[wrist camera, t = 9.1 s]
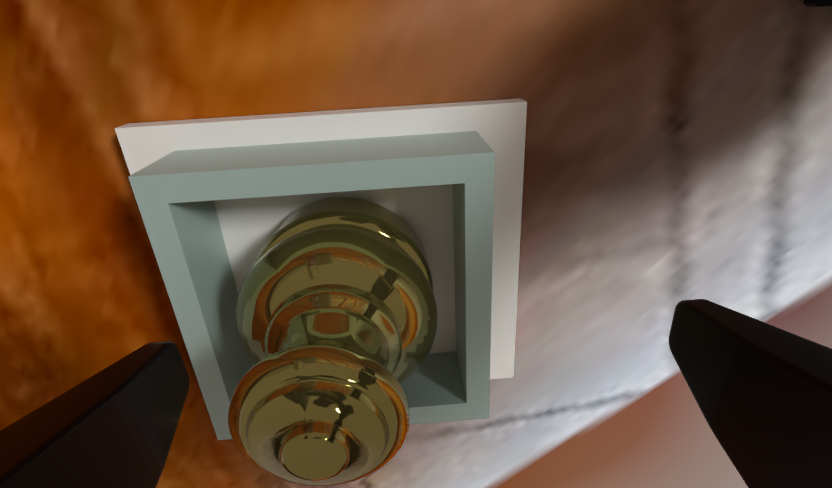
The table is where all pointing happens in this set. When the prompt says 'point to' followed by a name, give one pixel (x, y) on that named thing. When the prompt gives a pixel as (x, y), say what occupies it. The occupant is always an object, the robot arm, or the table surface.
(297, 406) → the gold rounded piece
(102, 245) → the table surface
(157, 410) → the robot arm
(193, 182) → the grey green tray
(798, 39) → the table surface
